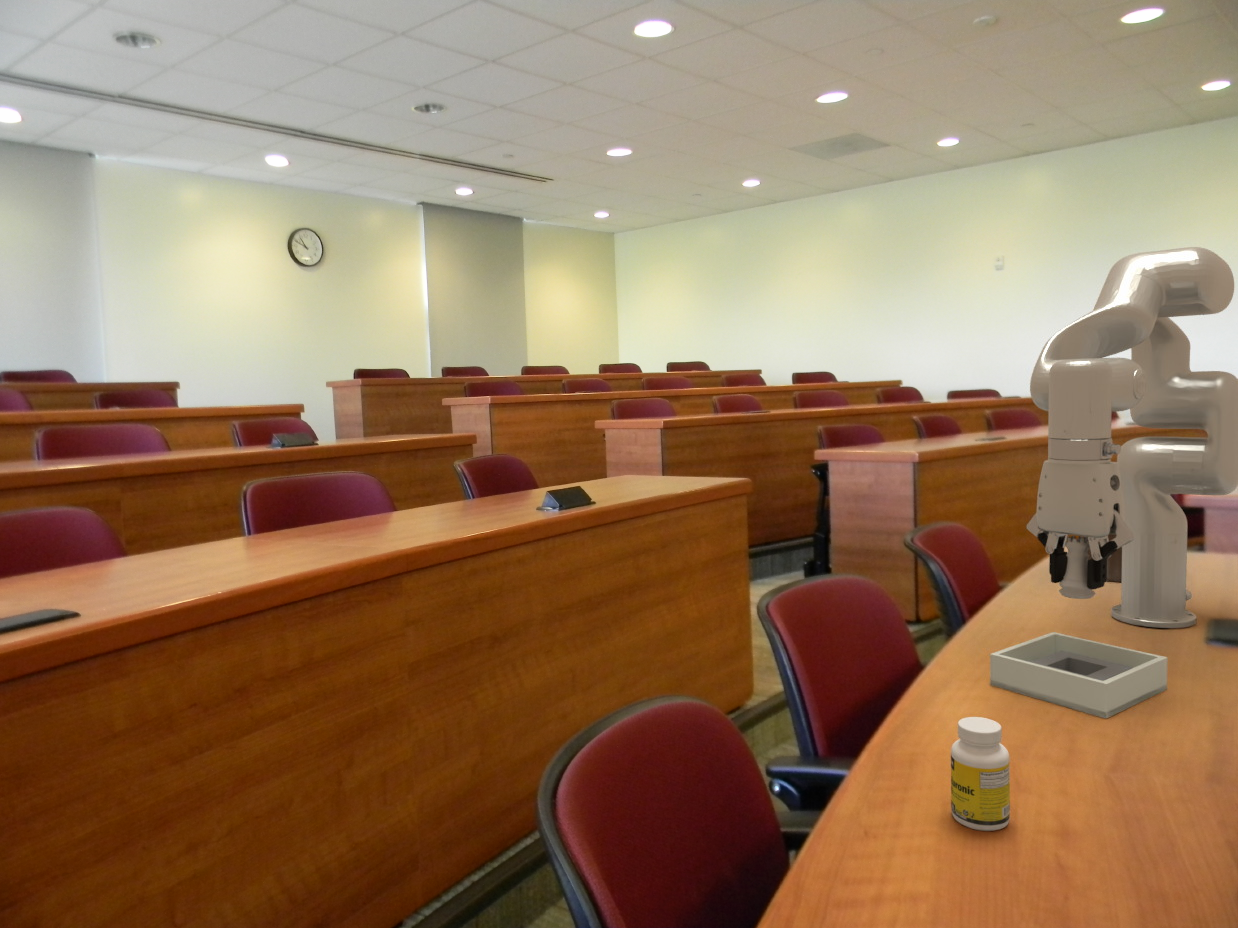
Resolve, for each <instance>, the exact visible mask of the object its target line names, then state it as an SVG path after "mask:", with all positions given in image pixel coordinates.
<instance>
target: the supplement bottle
mask: <svg viewBox="0 0 1238 928" xmlns="http://www.w3.org/2000/svg"><path fill="white" fill-rule="evenodd" d="M1002 734H1003V733H1002V725H1001V724H1000V723H999V722H998V721H995V720H993V719H990V718H986V717H981V716H968V717H963V718H960V719H959V720H958V722H957V736H958V739H957V740H955V742H953V743H952V745H951V748H950V794H951V795H950V798H951V799H950V804H951V805H950V807H951V814H952V817H953V818H954V819H955V821H956V822H958V823H959V824H961V825H962V826H965V827H967V828H969V829H973V830H977V831H984V832H991V831H998V830H1002V829H1003V828H1006V827H1007V826H1008V825H1009V823H1010V819H1011V818H1010V811H1011V808H1010V807H1011V805H1010V804H1011V803H1010V802H1011V801H1010V799H1011V798H1010V797H1011V796H1010V793H1011V791H1010V787H1011V786H1010V785H1011V784H1010V754H1009V751H1008V749H1007V747H1005V745H1003V744H1002V743H1001V742H1002V738H1003V737H1002V736H1003V735H1002Z"/></svg>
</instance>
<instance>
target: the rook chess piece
mask: <svg viewBox="0 0 1238 928" xmlns="http://www.w3.org/2000/svg"><path fill="white" fill-rule="evenodd" d="M1076 537H1077V536H1076V535H1070V536H1067V539H1066V543H1065V548H1066V549H1067V554H1066V556H1067V557H1068V563H1067V569H1066V573H1065V576H1063V577H1064V579H1063V580H1062V581H1060V582H1059V586H1060V587H1061V588H1059V590H1058V591H1059V593H1060V595H1061V596H1063V597H1065V598H1068V599H1079V600H1085V599H1086V600H1087V599H1092V598H1093V597H1094V596H1095V595H1096V592H1095V590H1093V589H1089V588H1088V587H1087V561H1088V557H1089V555H1088V554H1087V551H1088V549H1089V548H1090V545H1089V542H1088V538H1087V537H1084V539H1083V537H1082V536H1078V538H1076Z"/></svg>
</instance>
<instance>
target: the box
mask: <svg viewBox="0 0 1238 928" xmlns="http://www.w3.org/2000/svg"><path fill="white" fill-rule="evenodd" d="M989 657H990V662H989V666H990V668H989V673H990V675H989V676H990V678H989V679H990V683H989V684H990V686H992V687H996V688H998V689H999V688H1000V689H1002V690H1006V691H1010V692H1013V693H1016V694H1019V695H1023V696H1027V697H1030V698H1033V699H1037V700H1040V701H1043V702H1047V703H1050V704H1053V705H1056V706H1057V705H1058V706H1061V707H1064V708H1067V709H1072V710H1075V711H1078V712H1082V713H1084V714H1088V715H1092V716H1094V717H1095V716H1096V717H1098V718H1102V719H1108V718H1110V717H1112V716H1114V715H1116V714H1119V713H1122V712H1123V711H1126V710H1127V709H1129V708H1132V707H1133V706H1135V705H1139V703H1142V702H1144V701H1146V700H1148V699H1150V698H1152V697H1154V696H1156V695H1158V694H1161V693H1162V692H1164V691H1167V690H1168V657H1167V656H1162V655H1159V654H1154V653H1150V652H1144V651H1141V650H1140V651H1139V650H1136V649H1132V648H1128V647H1127V648H1126V647H1122V646H1117V645H1114V644H1108V643H1105V642H1099V641H1096V640H1091V639H1087V638H1081V637H1078V636H1073V635H1068V634H1063V633H1059V632H1055V631H1053V632H1049V633H1046V634H1044V635H1040V636H1037V637H1035V638H1032V639H1029V640H1027V641H1024V642H1020V643H1018V644H1014V645H1013V646H1009V647H1006V648H1003V649H1001V650H1000V649H999V650H998V651H995V652H992V653H990V655H989Z"/></svg>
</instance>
